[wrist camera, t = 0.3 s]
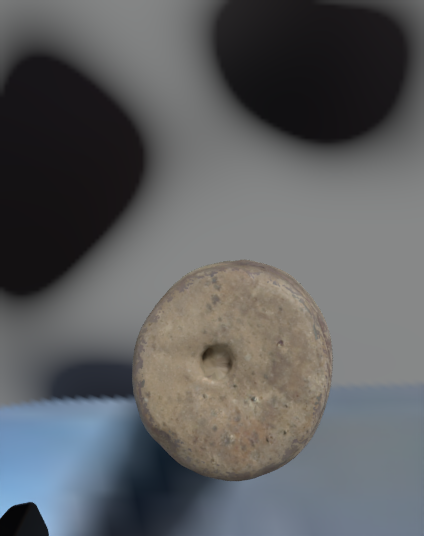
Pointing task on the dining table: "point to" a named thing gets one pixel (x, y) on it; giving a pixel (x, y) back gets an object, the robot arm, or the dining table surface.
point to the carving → (233, 370)
